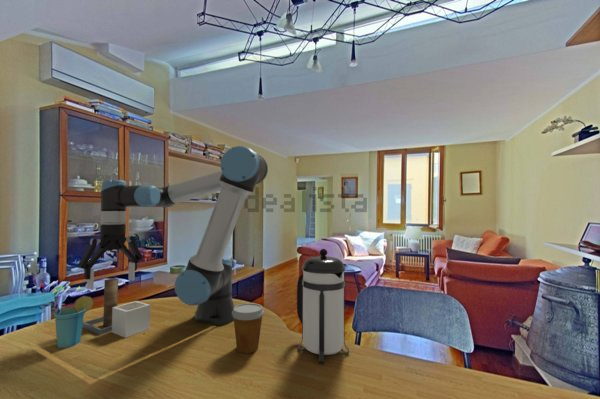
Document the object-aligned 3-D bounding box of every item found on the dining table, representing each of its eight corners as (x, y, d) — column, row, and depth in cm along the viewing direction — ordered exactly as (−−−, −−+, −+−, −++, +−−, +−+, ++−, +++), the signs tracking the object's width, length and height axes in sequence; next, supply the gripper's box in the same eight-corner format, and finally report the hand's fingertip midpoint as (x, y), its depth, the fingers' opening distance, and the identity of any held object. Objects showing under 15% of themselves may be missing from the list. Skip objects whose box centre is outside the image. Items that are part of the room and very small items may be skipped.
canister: (149, 331, 98) (150, 304, 98) (125, 340, 91) (126, 311, 91) (135, 326, 102) (136, 300, 102) (111, 335, 95) (112, 307, 95)
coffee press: (350, 341, 91) (350, 246, 93) (347, 368, 76) (347, 253, 77) (297, 335, 95) (297, 244, 97) (283, 360, 80) (284, 250, 81)
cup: (47, 362, 78) (49, 305, 78) (28, 357, 80) (30, 302, 81) (98, 340, 91) (99, 292, 92) (80, 336, 94) (82, 289, 94)
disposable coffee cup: (270, 348, 87) (270, 307, 87) (243, 359, 80) (244, 315, 80) (250, 338, 93) (251, 300, 94) (224, 348, 86) (225, 307, 87)
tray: (137, 325, 103) (137, 318, 103) (100, 338, 93) (100, 330, 93) (118, 318, 109) (118, 312, 109) (81, 330, 99) (82, 322, 99)
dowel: (119, 325, 102) (120, 279, 102) (106, 329, 98) (108, 281, 99) (112, 323, 104) (114, 278, 104) (100, 326, 100) (102, 280, 101)
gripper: (141, 222, 115) (140, 276, 114) (66, 224, 93) (64, 291, 93) (153, 222, 111) (152, 278, 110) (77, 225, 90) (75, 294, 89)
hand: (112, 284), depth 101 cm, fingers open, 13 cm apart
